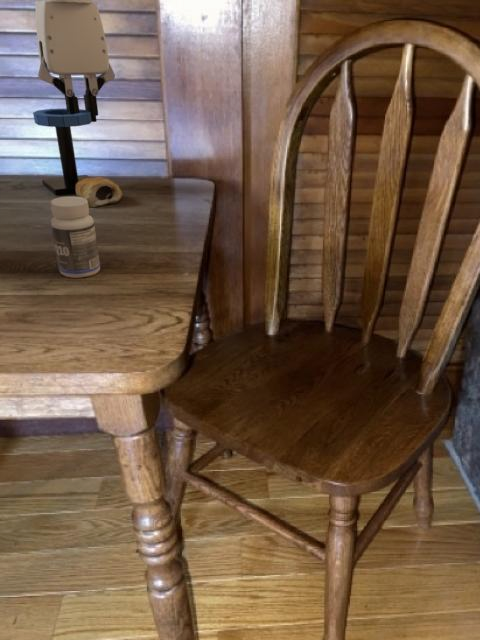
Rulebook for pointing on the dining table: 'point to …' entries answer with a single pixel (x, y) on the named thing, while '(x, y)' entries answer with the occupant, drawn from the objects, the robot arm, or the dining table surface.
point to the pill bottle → (74, 237)
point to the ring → (61, 118)
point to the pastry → (98, 191)
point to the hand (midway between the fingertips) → (83, 120)
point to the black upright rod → (65, 165)
